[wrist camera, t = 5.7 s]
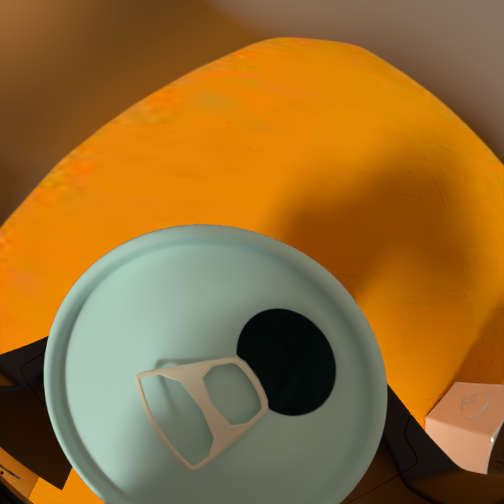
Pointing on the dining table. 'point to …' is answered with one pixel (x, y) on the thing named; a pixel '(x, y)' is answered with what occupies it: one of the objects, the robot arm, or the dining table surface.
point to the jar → (471, 426)
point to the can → (214, 373)
